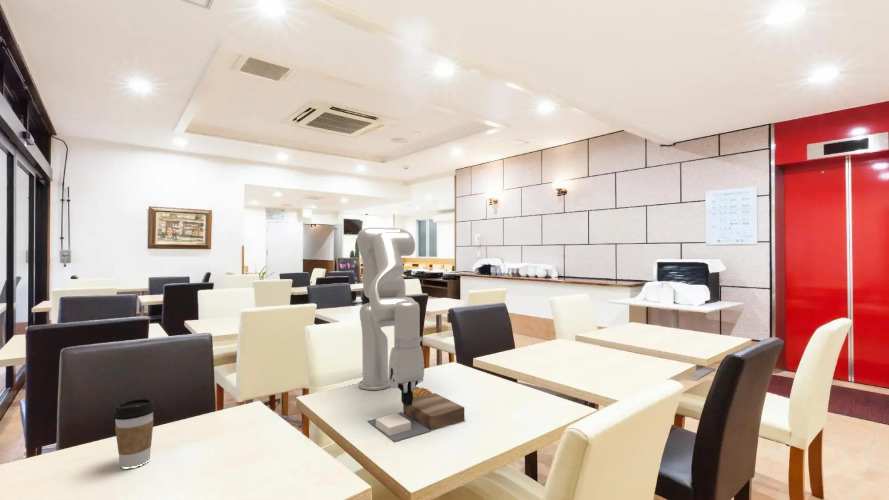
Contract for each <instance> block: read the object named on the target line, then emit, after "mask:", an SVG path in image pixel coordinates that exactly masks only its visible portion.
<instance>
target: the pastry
mask: <svg viewBox="0 0 889 500" xmlns="http://www.w3.org/2000/svg"><path fill="white" fill-rule="evenodd" d="M433 393H434V392H431V391H430V390H429V389H428V388H425V387H419V386H416V387H415V390H414V391H413V398H416V397H420V396H425V395H429V394H433Z"/></svg>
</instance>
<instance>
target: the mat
mask: <svg viewBox="0 0 889 500" xmlns="http://www.w3.org/2000/svg"><path fill="white" fill-rule="evenodd" d="M396 413H397V414H399V415H401V416H402V417H404V418H405V419H407V420H409V421H410V422H411V430H408V431H404V432H401V433H397V434H394V435H391V436H389V435H387V434H386V433H384V432H383V431H382V430H380V429H379V428H378V427H376V419H377V418H378V417H377V418H374V419H370V420H369V419H368V420H367V423H369V424H370V425H372V426H373V427H374V428H375V429H377V430H378V431H379V432H381V433H382V434H383V435H385V436H386V438H388V439H390V440H391V441H392V442H394V443H396V442H400V441H403V440H407V439H409V438H410V439H411V438H414V437H417V436H420V435H423V434H427V433H430V432H432V430H430V429H428V428H427V427H425V426H423V425H422V424H420V423H419V422H417V421H415V420H414V419H412V418H411V417H409V416H407V415H406V414H404V413H403V411H399V412H396ZM385 416H386V415H385ZM385 416H383V417H385ZM381 417H382V416H381ZM381 417H379V418H381Z"/></svg>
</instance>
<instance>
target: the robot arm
mask: <svg viewBox="0 0 889 500" xmlns="http://www.w3.org/2000/svg"><path fill="white" fill-rule="evenodd" d="M356 241H357V242H356V243H357V247H358V251H359V255H360V258H361V261H362V286H363V294H364V296H365V297H366V298H368V299H369V302H367V303H365V304H363V305H362V306H361V307H360V308H359V319H360V327H361V339H362V341H361V342H362V343H361V345H362V348H361V349H362V353H361V354H362V372H361V375H362V379H361V380H360V381H359V382H358V388H359V389H362V390H366V391H380V390H385V389H387V388H390V387H391V388H392V389H399V390H400V391H401V393H400V394H401V396H400V397H401V403H402V405H403V404H404V405H406V406H409V405H412V401H413V391H414V390H415V387H417V385H419V384H420V383H422V382H423V381H424V376H425V361H424V352H423V349H422V346H421V342H423V340H424V338H423V336H420V330H421V328H420V327H421V326H420V325H421V324H420V319H421V318H420V316H421V315H420V314H421V313H420V312H421V310H420V309H421V307H420V304H419V302H417V301H415V299H414V298H413V297H409V296H407V295H406V293H407V292H406V281H405V279H404V276H403V273H404V270H405V268H404V263H403V259H402V256H403V257H404V256H405V257H410V256H412V255H413V254H414V252H415V250H416V242H415V238H414V236H413V235H412V233H411V232H410V231H407V230H405V229H403V228H400V227H365V228H363V229H361V230H359V232H358V233H357V238H356ZM385 327H394V328H393V330H394V331H393V332H394V333H393V335H394V336H393V338H394V340H393V343H394V347H391V350H390V355H388V354H389V353H388V352H389V346H388V345H389V344H388V342H389V340H388V339H389V338H388V336H387V335H386V334H385V332H384V331H383V330H382V328H385Z"/></svg>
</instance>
